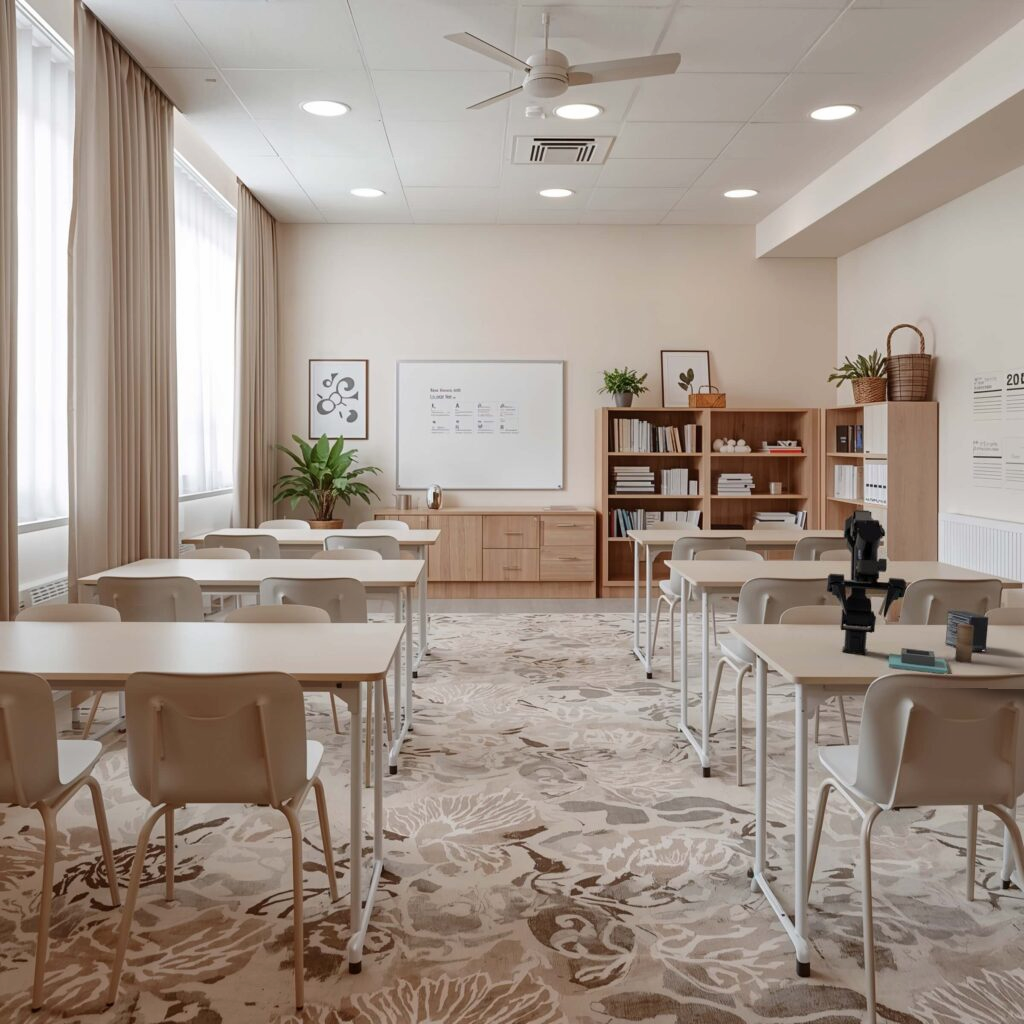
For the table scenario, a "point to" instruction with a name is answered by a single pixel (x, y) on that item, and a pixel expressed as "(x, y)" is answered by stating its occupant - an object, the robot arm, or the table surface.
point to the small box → (969, 619)
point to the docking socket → (917, 661)
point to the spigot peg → (964, 643)
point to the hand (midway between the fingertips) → (865, 615)
